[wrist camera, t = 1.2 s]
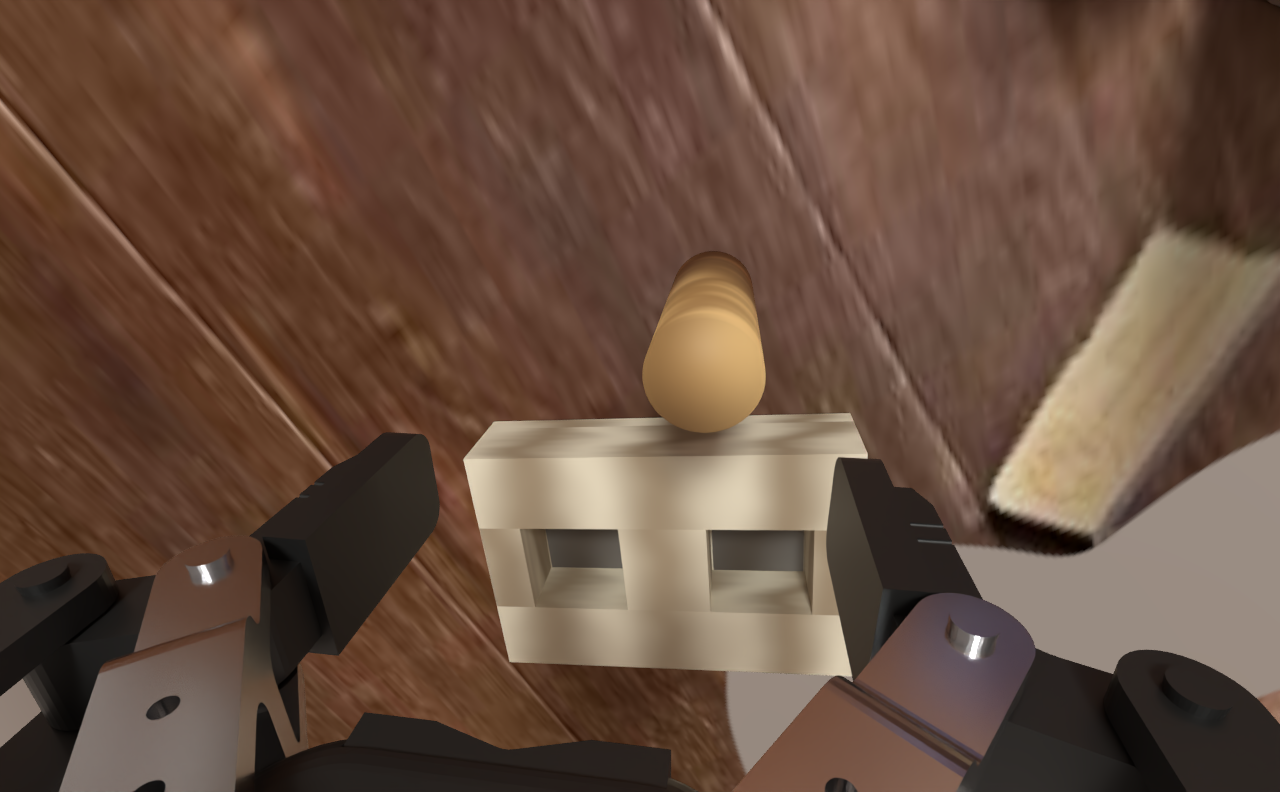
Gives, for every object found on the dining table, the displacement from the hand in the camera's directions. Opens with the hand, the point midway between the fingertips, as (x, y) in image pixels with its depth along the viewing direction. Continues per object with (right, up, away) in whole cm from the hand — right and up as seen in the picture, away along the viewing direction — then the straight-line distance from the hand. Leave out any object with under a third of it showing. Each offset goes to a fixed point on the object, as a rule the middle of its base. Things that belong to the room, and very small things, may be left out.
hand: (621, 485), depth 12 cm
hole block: (+2, -6, +25) cm, 25 cm away
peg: (+4, +7, +19) cm, 20 cm away
